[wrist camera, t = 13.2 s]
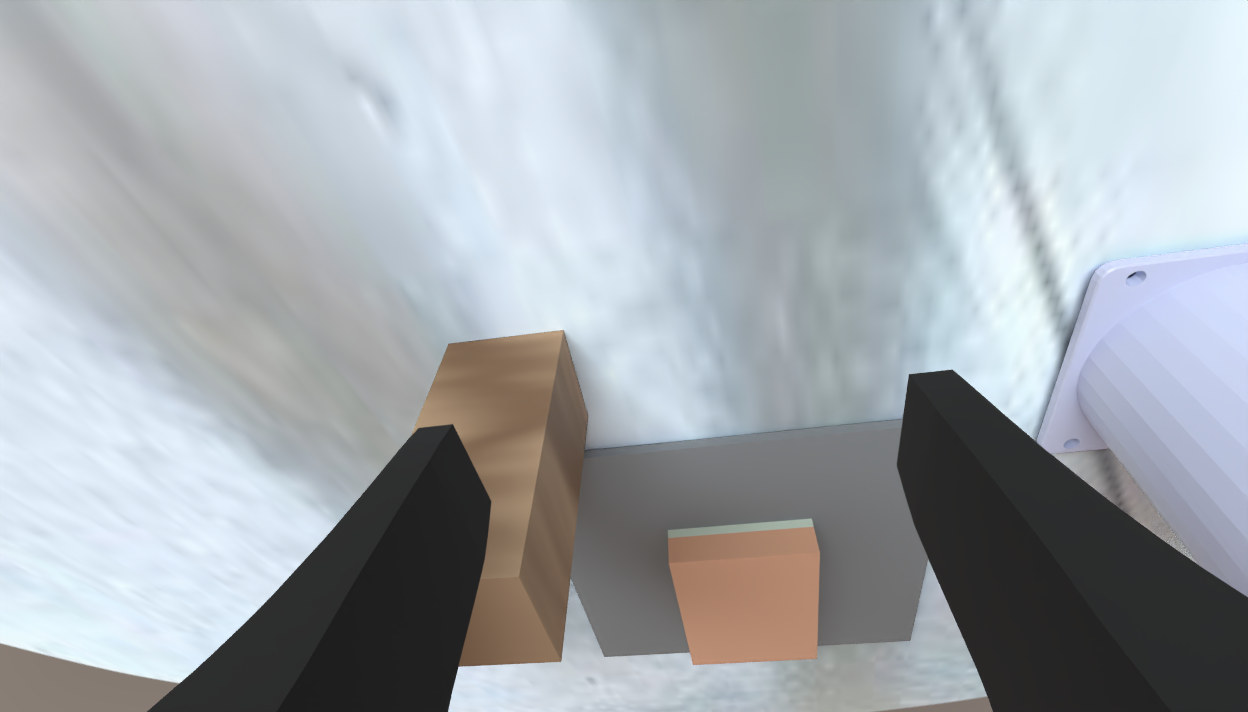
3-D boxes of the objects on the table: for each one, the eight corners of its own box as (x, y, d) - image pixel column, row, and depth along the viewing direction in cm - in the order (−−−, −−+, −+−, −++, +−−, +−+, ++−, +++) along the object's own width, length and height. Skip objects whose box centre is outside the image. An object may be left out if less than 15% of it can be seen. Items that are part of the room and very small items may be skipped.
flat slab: (819, 552, 25) (816, 658, 30) (811, 518, 26) (810, 626, 31) (668, 563, 25) (693, 664, 31) (667, 529, 27) (691, 633, 32)
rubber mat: (953, 413, 22) (957, 422, 22) (907, 633, 32) (910, 640, 32) (524, 456, 25) (523, 464, 24) (604, 649, 34) (604, 656, 34)
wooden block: (563, 330, 21) (518, 576, 14) (588, 415, 23) (561, 661, 16) (448, 343, 21) (349, 587, 14) (484, 425, 24) (415, 668, 17)
